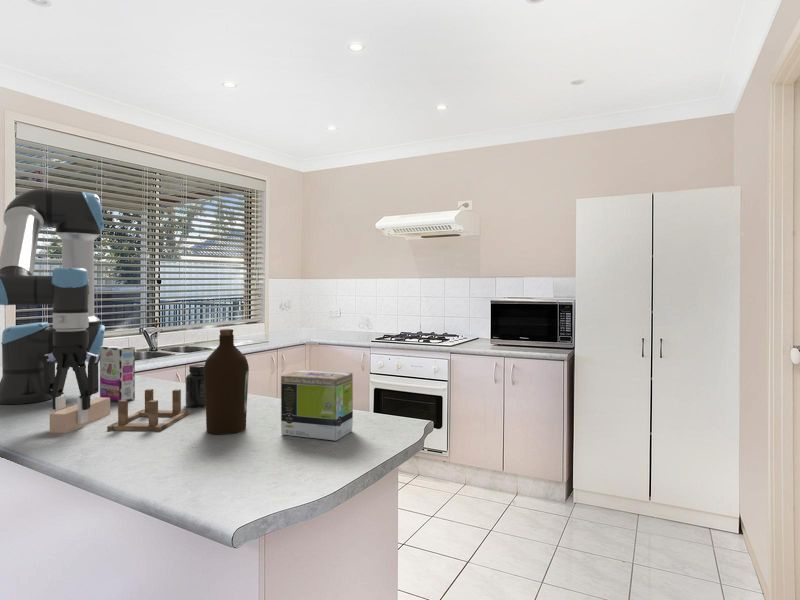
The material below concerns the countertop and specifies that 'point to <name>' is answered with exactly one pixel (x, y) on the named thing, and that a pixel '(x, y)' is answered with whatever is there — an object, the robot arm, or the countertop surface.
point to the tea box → (317, 404)
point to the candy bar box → (117, 372)
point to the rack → (149, 414)
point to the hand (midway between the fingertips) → (71, 422)
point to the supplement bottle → (195, 387)
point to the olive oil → (226, 387)
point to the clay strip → (69, 416)
